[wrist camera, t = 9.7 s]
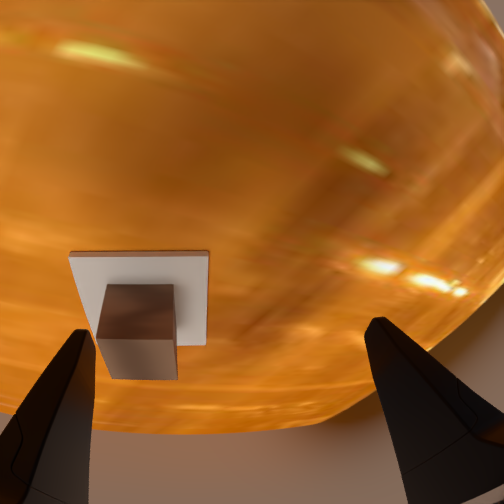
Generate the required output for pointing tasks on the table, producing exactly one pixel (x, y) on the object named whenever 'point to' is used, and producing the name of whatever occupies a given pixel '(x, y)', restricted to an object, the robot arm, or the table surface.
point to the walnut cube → (139, 331)
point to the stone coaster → (147, 272)
